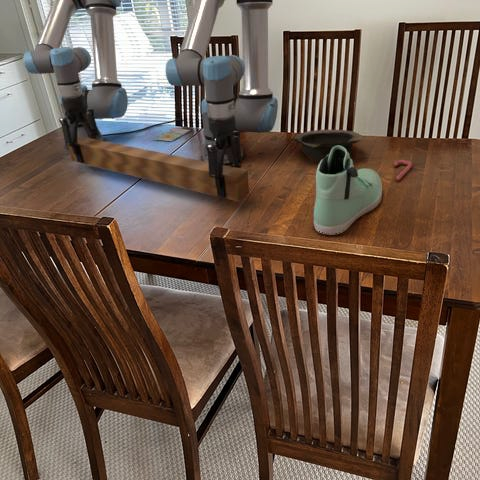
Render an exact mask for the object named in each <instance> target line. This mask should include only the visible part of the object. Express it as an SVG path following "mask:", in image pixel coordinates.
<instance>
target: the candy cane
mask: <svg viewBox="0 0 480 480" xmlns="http://www.w3.org/2000/svg"><path fill="white" fill-rule="evenodd" d="M400 165H405V168H403V169H402V170H401V172H399V174H397V176H395V181H396V182H399V181H400V180H401V179H403V177H404V176H405V175H406V174H407V173H408V172H409V171H410V170H411V169H412V168H413V162H412V161H409V160H405V159H400V160H396V161H394V162H393V167H395V168H397V167H398V166H400Z"/></svg>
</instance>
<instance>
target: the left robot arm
mask: <svg viewBox="0 0 480 480" xmlns="http://www.w3.org/2000/svg"><path fill="white" fill-rule="evenodd" d="M49 2H50V3H49V4H50V9H49V11H48V14H47V17H46V19H45V22H44V24H43V27H42V30H41V32H40V35H39V37H38V40H37V43H36V46H35V48H34V50H30V51H26V52H25V53H24V54H23V58H22V61H23V66H24V68H25V69H26V71H27V72H28V73H29V74H34V75H45V74H54V76H55V80H56V85H57V88H58V92H59V93H58V100H59V105H60V108H61V113H62V116H63V117H60V118H58V122H59V123H60V125H61V128H62V132H63V138H64V144H65V146H66V148H68V149H69V147H68V146H72V150H73V153H74V155H76V158H77V162H76V163H79V164H83V163H84V161H83V157H82V153H81V149H80V145H77V137H79V136H80V137H85V138H90V139H95V140H100V141H104V137H111V136H120V135H128V134H133V133H138V132H142V131H145V130H148V129H151V128H154V127H158V126H162V125H167V124H172V123H175V122H178V121H181V122H185V120H184V119H182V118H176V119H173V120H169V121H164V122H159V123H155V124H152V125H149V126H146V127H143V128H139V129H135V130H130V131H124V132H116V133H115V132H113V133H105V134H102V132H101V130H100V129H99V127H98V125H97V122H96V120H101V119H102V120H103V119H104V120H105V119H107V120H108V119H112V120H113V119H119V118H120V119H121V118H123V117H124V116H125V115H126V114H127V113H126V112H127V109H128V106H129V105H128V104H129V97H128V93H127V90H126V88H124V87H123V85H122V83H121V81H119V80H118V71H117V70H118V69H117V68H118V67H117V57H116V42H115V41H116V40H115V25H114V17H115V16H116V15H117V8H119V7H121V5H122V0H49ZM79 10H85V12H86V14H88V15H89V17H90V28H91V38H92V39H91V41H92V54H93V66H94V67H93V68H94V80H93V82H92V83H91V88H90V89H88V86H87V85H85V84H82V83H81V80H80V75H79V73H81V72H83V71H85V70H87V68H88V67H90V65H91V63H92V55H91V54H90V52H89V51H88V49H86V48H84V47H82V46H76V47H73V48H72V47H70V46H62V43H63V41H64V38H65V35H66V32H67V29H68V27H69V25H70V21H71V19H72V17H73V16H75V14H76V13H77V11H79Z"/></svg>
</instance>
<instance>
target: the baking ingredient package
mask: <svg viewBox="0 0 480 480" xmlns="http://www.w3.org/2000/svg"><path fill="white" fill-rule="evenodd" d="M190 131H191V130H190V129H182V128H174V127H173V128H172V129H170V130H168V131H166V132H164V133H163V134H161V135H159V136H157V137H155V138H154V140H158V141H167V142H172V141H174V140H176V139H178V138H181V136H184V135H185V134H186V133H188V132H190Z"/></svg>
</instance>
